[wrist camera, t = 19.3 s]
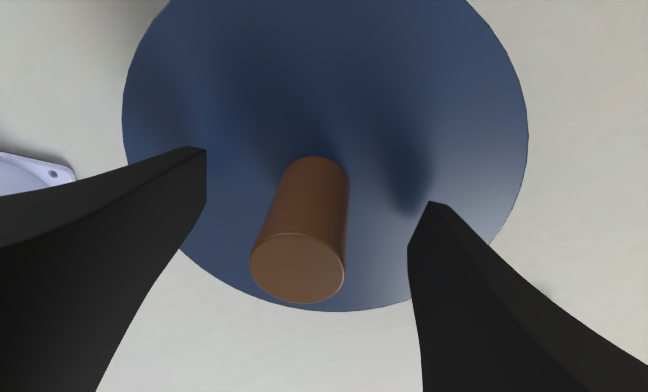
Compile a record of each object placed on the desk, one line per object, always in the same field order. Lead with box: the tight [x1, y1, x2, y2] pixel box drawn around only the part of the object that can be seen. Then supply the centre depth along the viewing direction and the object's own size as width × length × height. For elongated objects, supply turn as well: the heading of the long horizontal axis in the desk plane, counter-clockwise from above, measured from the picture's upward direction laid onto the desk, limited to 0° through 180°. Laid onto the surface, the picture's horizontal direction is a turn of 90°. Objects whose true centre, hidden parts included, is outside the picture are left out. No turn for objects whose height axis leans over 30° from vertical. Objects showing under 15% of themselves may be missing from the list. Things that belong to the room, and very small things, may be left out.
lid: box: [122, 0, 529, 312], centre depth 10 cm, size 13×13×5 cm
